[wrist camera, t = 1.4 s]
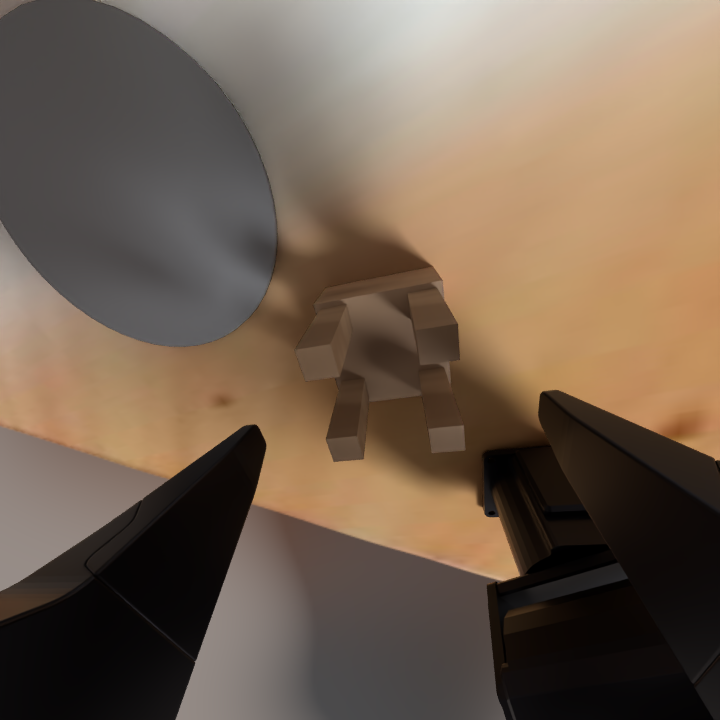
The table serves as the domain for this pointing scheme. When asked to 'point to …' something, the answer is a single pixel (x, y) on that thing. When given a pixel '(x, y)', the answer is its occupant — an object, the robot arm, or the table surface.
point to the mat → (130, 175)
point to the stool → (385, 355)
